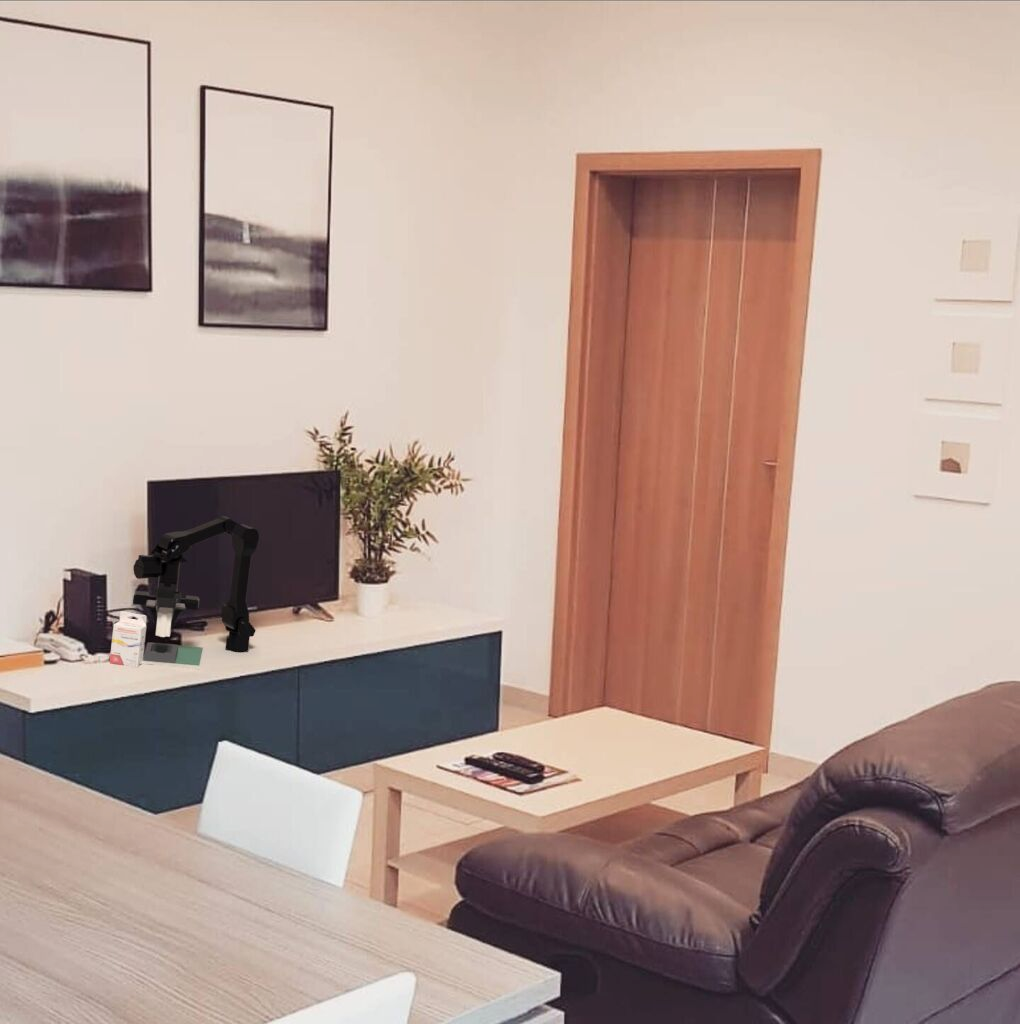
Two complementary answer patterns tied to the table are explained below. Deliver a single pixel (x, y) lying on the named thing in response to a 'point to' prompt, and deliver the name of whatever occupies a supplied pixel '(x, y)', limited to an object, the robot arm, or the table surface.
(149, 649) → the board
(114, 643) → the ink cartridge box
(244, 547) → the robot arm
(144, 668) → the table surface
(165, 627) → the plug
